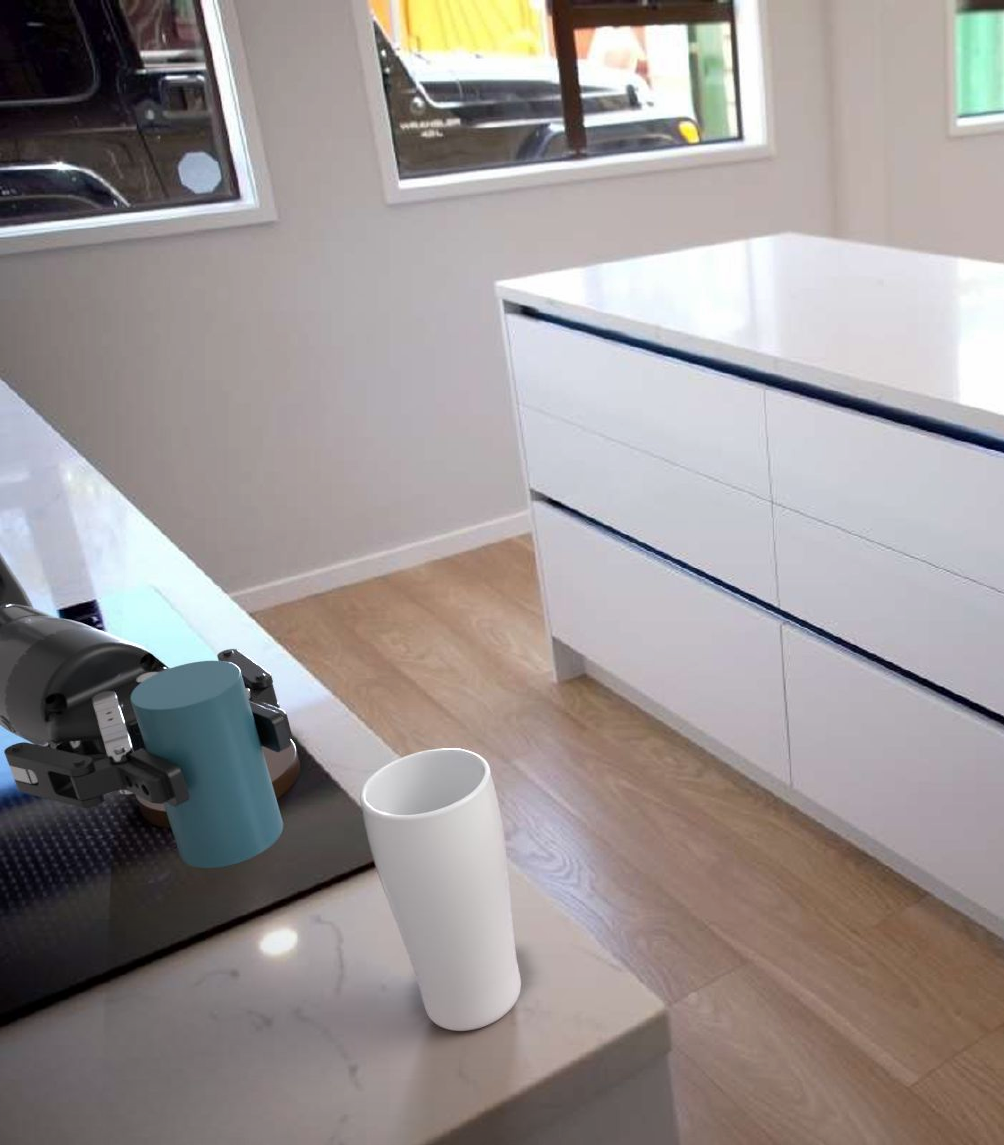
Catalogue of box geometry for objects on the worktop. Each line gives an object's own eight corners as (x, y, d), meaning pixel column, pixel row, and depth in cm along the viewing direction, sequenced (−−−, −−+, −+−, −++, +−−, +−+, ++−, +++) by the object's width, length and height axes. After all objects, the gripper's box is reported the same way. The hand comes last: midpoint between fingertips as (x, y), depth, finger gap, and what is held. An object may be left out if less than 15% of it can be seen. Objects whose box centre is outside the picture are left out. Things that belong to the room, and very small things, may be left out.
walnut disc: (139, 847, 90) (133, 829, 90) (140, 771, 99) (135, 755, 99) (307, 799, 95) (302, 782, 94) (293, 731, 104) (289, 715, 103)
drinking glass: (388, 1032, 73) (329, 808, 66) (458, 952, 78) (410, 739, 72) (493, 1056, 70) (442, 827, 64) (557, 972, 76) (516, 754, 70)
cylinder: (180, 879, 70) (129, 719, 66) (179, 829, 75) (130, 676, 71) (287, 849, 72) (243, 692, 68) (279, 801, 77) (238, 651, 73)
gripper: (-82, 683, 72) (79, 764, 63) (166, 586, 83) (332, 643, 74) (-37, 798, 75) (122, 890, 66) (196, 690, 86) (360, 756, 77)
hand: (232, 759), depth 70 cm, fingers closed on cylinder, 5 cm apart
